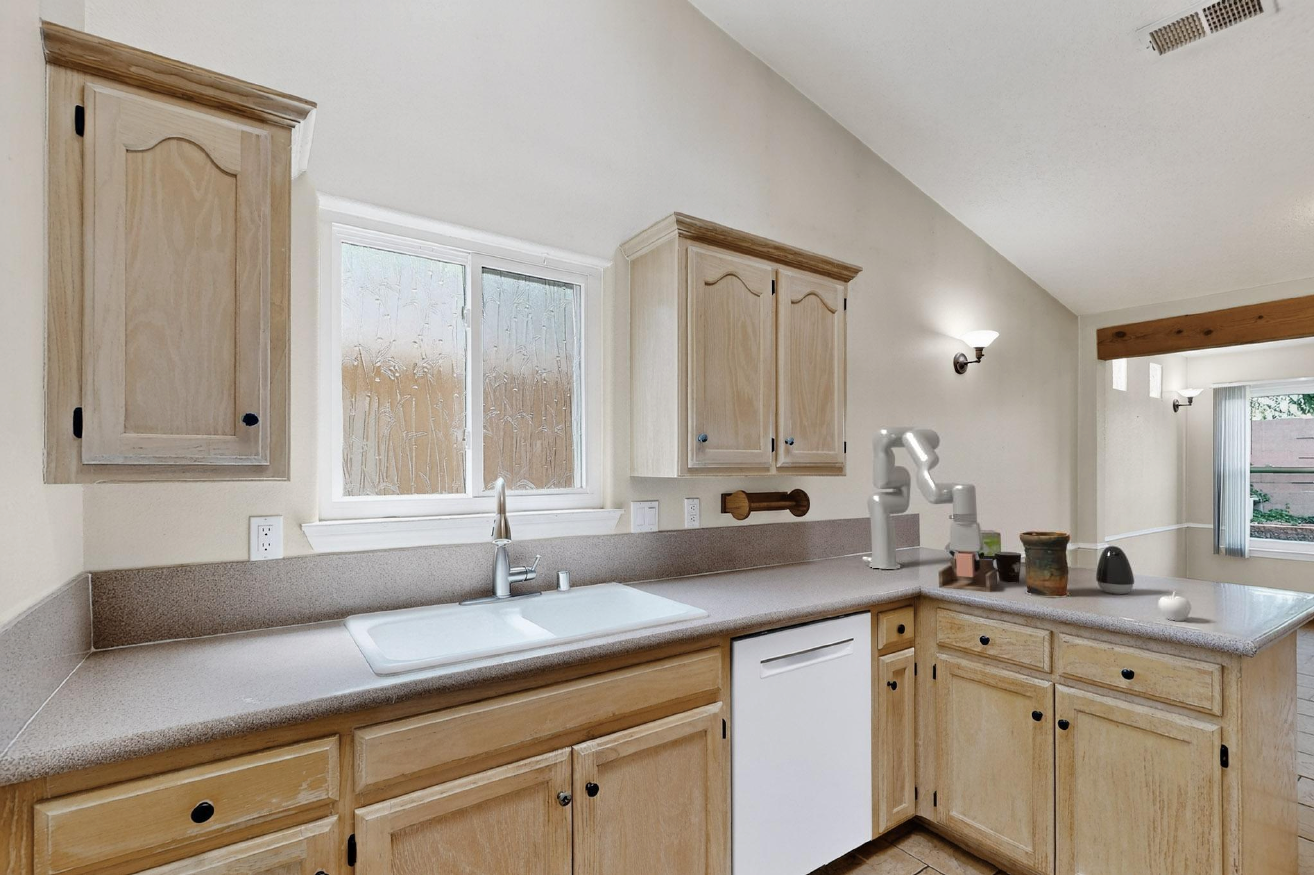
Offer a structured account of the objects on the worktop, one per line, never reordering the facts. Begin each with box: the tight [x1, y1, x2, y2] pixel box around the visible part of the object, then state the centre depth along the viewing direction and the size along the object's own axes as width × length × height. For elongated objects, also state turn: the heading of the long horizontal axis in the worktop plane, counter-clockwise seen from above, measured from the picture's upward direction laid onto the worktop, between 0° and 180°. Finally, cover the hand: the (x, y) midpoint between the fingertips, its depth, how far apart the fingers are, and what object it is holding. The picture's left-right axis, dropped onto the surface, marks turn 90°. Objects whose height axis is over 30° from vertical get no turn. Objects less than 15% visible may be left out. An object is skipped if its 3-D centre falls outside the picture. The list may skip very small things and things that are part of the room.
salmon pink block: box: [956, 551, 979, 577], centre depth 224 cm, size 5×10×8 cm, turn 143°
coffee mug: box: [992, 551, 1022, 583], centre depth 232 cm, size 12×9×10 cm
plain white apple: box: [1157, 590, 1192, 622], centre depth 173 cm, size 7×7×8 cm
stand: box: [938, 556, 999, 593], centre depth 224 cm, size 16×15×9 cm
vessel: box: [1019, 530, 1071, 598], centre depth 209 cm, size 14×14×20 cm
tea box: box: [979, 529, 1002, 569], centre depth 263 cm, size 15×10×15 cm
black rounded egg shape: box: [1095, 545, 1135, 595], centre depth 208 cm, size 10×10×15 cm
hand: (967, 569), depth 224 cm, fingers closed on salmon pink block, 4 cm apart
